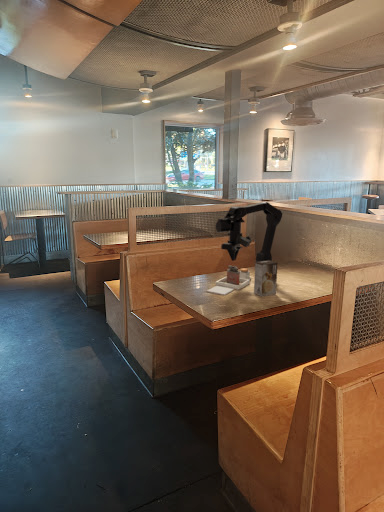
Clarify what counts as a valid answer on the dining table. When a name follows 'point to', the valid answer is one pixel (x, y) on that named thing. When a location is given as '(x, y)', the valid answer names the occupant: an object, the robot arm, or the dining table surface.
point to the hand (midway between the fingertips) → (233, 260)
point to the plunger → (244, 270)
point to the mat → (220, 290)
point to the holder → (243, 278)
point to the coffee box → (265, 278)
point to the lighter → (233, 275)
